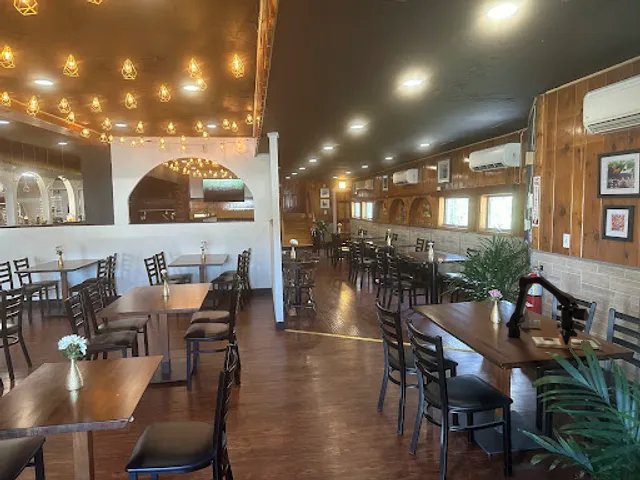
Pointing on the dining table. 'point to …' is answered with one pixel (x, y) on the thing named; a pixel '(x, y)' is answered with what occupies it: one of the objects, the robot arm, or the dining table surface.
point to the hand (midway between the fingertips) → (566, 344)
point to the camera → (528, 321)
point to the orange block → (563, 341)
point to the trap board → (556, 344)
